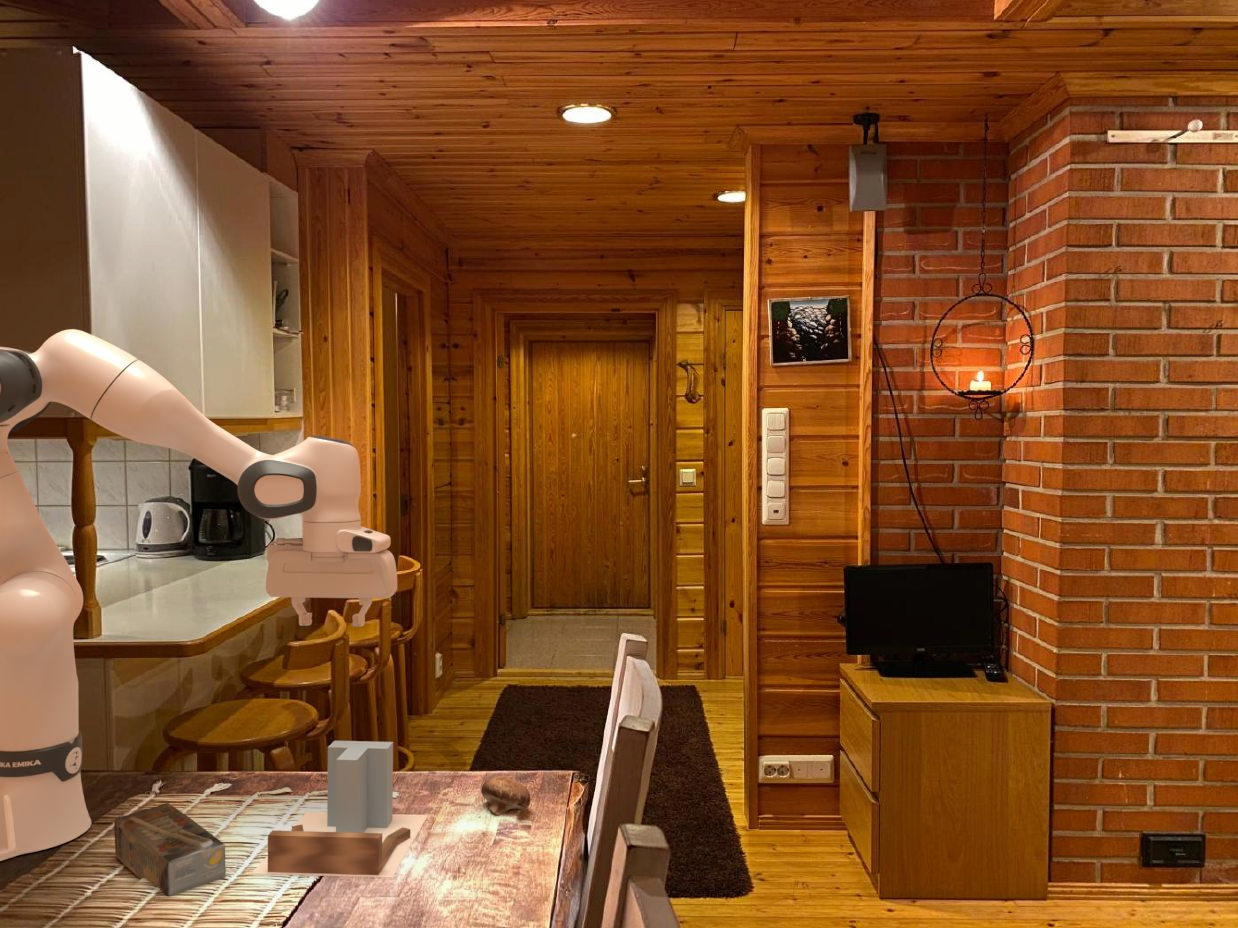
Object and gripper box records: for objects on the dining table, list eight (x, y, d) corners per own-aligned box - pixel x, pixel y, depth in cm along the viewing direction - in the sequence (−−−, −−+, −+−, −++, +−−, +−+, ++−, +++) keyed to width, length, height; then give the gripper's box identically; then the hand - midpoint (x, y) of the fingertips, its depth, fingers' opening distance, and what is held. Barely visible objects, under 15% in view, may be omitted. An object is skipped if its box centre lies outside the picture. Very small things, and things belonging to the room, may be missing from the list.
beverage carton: (166, 907, 115) (166, 857, 115) (111, 859, 128) (111, 814, 127) (227, 885, 121) (227, 837, 121) (169, 842, 133) (169, 798, 133)
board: (251, 880, 122) (251, 873, 122) (306, 818, 142) (306, 811, 142) (392, 884, 121) (392, 877, 121) (427, 821, 141) (428, 814, 141)
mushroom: (487, 809, 138) (500, 768, 142) (465, 812, 144) (478, 773, 148) (531, 826, 141) (543, 786, 145) (508, 828, 147) (519, 790, 151)
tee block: (315, 841, 132) (315, 758, 131) (334, 817, 140) (334, 740, 139) (377, 842, 131) (377, 760, 131) (392, 819, 139) (393, 741, 139)
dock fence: (258, 871, 122) (258, 834, 122) (293, 832, 134) (293, 798, 134) (388, 875, 122) (388, 838, 122) (411, 835, 134) (411, 801, 134)
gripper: (258, 539, 141) (258, 628, 142) (389, 541, 141) (389, 630, 141) (275, 535, 148) (275, 620, 148) (400, 537, 147) (400, 622, 147)
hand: (332, 625), depth 145 cm, fingers open, 7 cm apart
